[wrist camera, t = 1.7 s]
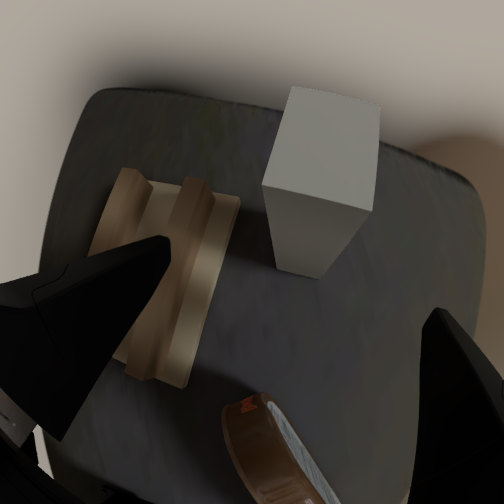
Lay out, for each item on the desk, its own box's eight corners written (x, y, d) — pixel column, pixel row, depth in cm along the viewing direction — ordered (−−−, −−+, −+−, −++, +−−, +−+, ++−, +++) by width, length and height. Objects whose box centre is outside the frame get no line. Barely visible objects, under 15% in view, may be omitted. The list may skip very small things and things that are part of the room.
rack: (186, 386, 18) (164, 399, 14) (83, 336, 20) (51, 336, 16) (241, 202, 21) (231, 177, 17) (133, 182, 23) (110, 160, 19)
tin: (232, 392, 18) (195, 437, 10) (272, 373, 18) (262, 411, 10) (320, 524, 14) (328, 589, 6) (355, 510, 14) (377, 572, 6)
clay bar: (319, 279, 19) (371, 211, 7) (276, 269, 19) (261, 184, 7) (331, 225, 20) (380, 105, 8) (291, 215, 20) (292, 85, 8)
